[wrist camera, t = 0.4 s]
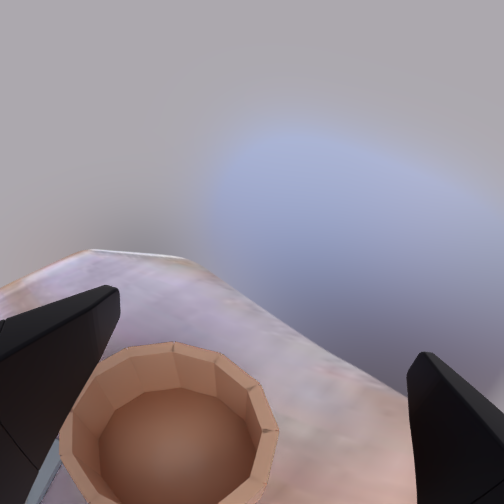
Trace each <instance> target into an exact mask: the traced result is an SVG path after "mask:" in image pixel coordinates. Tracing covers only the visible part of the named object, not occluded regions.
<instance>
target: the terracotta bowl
mask: <svg viewBox="0 0 504 504" xmlns="http://www.w3.org/2000/svg"><path fill="white" fill-rule="evenodd" d="M259 384H260V383H259V382H258V381H256V380H255V379H254V378H252V377H251V376H250V375H248V374H247V373H246V372H245V371H243V370H242V369H241V368H239V367H238V366H237V365H236V364H234V363H233V362H232V361H231V360H229V359H228V358H227V357H226V356H224V355H223V354H222V355H221V353H218V352H214V351H210V350H206V349H202V348H198V347H194V346H190V345H186V344H183V343H179V342H175V343H174V342H165V343H158V344H150V345H141V346H133V347H128V350H127V349H126V348H124V349H123V350H121V351H119V352H117V353H115V354H114V355H112V356H110V357H108V358H107V359H105V360H103V361H101V362H99V363H98V364H97V366H96V367H95V369H94V371H93V372H92V374H91V376H90V378H89V379H88V381H87V383H86V384H85V386H84V388H83V390H82V391H81V393H80V395H79V397H78V398H77V400H76V402H75V404H74V405H73V407H72V409H71V411H70V413H69V414H68V416H67V418H66V420H65V422H64V424H63V426H62V427H61V429H60V431H59V455H60V459H61V460H62V462H63V464H64V466H65V468H66V469H67V471H68V473H69V474H70V476H71V478H72V479H73V481H74V483H75V484H76V486H77V487H78V489H79V490H80V492H81V494H82V495H83V497H84V498H85V499H86V501H87V502H88V503H89V504H255V503H256V502H257V501H258V500H259V499H260V498H261V496H262V494H263V491H264V489H265V487H266V484H267V481H268V477H269V473H270V469H271V465H272V461H273V457H274V452H275V448H276V444H277V439H278V435H279V428H278V426H277V423H276V421H275V418H274V416H273V414H272V411H271V409H270V406H269V404H268V401H267V399H266V396H265V394H264V391H263V389H262V386H261V385H259Z"/></svg>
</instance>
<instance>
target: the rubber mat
mask: <svg viewBox="0 0 504 504" xmlns="http://www.w3.org/2000/svg"><path fill="white" fill-rule="evenodd" d="M61 464H62V460H61V459H60V455H59V440H57V439H55V441H54V443H53V445H52V447H51V448H50V450H49V452H48V454H47V456H46V458H45V460H44V463H43V465H42V467H41V469H40V470H39V473H38V475H37V478H36V480H35V482H34V484H33V486H32V488H31V491H30V493H29V495H28V500H27V504H40V503H41V501H42V499H43V497H44V495H45V493H46V491H47V489H48V488H49V486H50V484H51V482H52V480H53V478H54V476H55V475H56V473H57V471H58V469H59V467H60V466H61Z"/></svg>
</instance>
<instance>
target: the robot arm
mask: <svg viewBox="0 0 504 504" xmlns="http://www.w3.org/2000/svg"><path fill="white" fill-rule="evenodd" d="M119 318H120V294H119V290H118V289H117V288H115V287H112V286H109V285H103V286H100V287H97V288H94V289H91V290H88V291H85V292H82V293H79V294H76V295H74V296H71V297H68V298H65V299H62V300H59V301H56V302H53V303H50V304H47V305H44V306H41V307H38V308H36V309H33V310H30V311H27V312H24V313H21V314H18V315H15V316H13V317H10V318H7V319H6V320H1V321H0V504H25V502H26V499H27V497H28V495H29V493H30V491H31V488H32V486H33V484H34V482H35V480H36V478H37V475H38V473H39V470H40V469H41V467H42V465H43V463H44V460H45V458H46V456H47V454H48V452H49V450H50V448H51V447H52V445H53V443H54V441H55V439H56V437H57V435H58V433H59V431H60V429H61V427H62V426H63V424H64V422H65V420H66V418H67V416H68V414H69V413H70V411H71V409H72V407H73V405H74V404H75V402H76V400H77V398H78V397H79V395H80V393H81V391H82V390H83V388H84V386H85V384H86V383H87V381H88V379H89V378H90V376H91V374H92V372H93V371H94V369H95V367H96V366H97V364H98V362H99V360H100V359H101V356H102V354H103V352H104V350H105V348H106V346H107V344H108V341H109V339H110V337H111V335H112V333H113V331H114V329H115V327H116V325H117V322H118V320H119ZM406 378H407V391H408V407H409V421H410V429H411V436H412V444H413V453H414V463H415V474H416V488H417V504H504V414H503V413H502V412H501V411H500V410H499V409H498V408H497V407H496V406H495V405H493V404H492V403H491V402H490V401H489V400H488V399H486V398H485V397H484V396H483V395H482V394H481V393H479V392H478V391H477V390H476V389H475V388H474V387H473V386H471V385H470V384H469V383H468V382H467V381H466V380H464V379H463V378H462V377H461V376H460V375H459V374H457V373H456V372H455V371H454V370H453V369H452V368H450V367H449V366H448V365H447V364H445V363H444V362H443V361H442V360H441V359H440V358H438V357H437V356H436V355H435V354H433V353H431V352H421V353H419V354H418V356H417V358H416V359H415V361H414V362H413V364H412V365H411V367H410V369H409V370H408V373H407V377H406Z"/></svg>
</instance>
